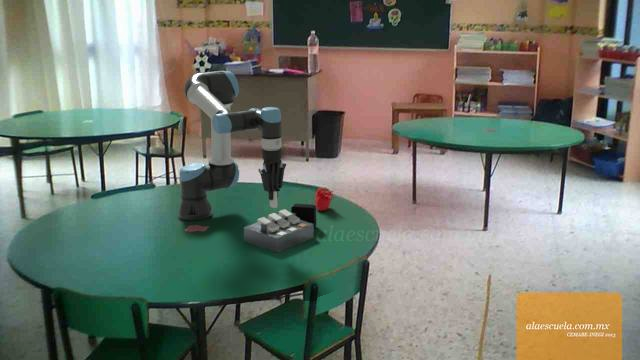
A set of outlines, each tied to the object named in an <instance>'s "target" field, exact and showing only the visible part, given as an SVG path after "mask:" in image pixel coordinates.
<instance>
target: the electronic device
mask: <svg viewBox="0 0 640 360" xmlns="http://www.w3.org/2000/svg"><path fill="white" fill-rule="evenodd" d="M290 210H291V212H290V213H295V214H296V216H297V217H298V218H300V220H302V221H306V222H309V223H312V224H314V230H315V228H316V227H317V208H316V205H315V204H307V203H294V204H292V205H291V208H290Z"/></svg>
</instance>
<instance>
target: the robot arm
mask: <svg viewBox="0 0 640 360" xmlns="http://www.w3.org/2000/svg"><path fill="white" fill-rule="evenodd" d="M239 92H240V87H239V83H238V79H237V78H236V75H235V74H234V73H233V72H232V71H230V70H217V71H205V72H196V73H194V74H193V75H191V76H190V77H188V78H187V80H186V81H185V83H184V88H183V93H184V95H185V98H186V99H187V100H188V102H190V103H191V104H192V105H197V107H198V108H199V109H200V110H202V111H203V113H205V115H207V117H209V118H210V128H211V129H210V133H211V134H210V135H211V136H210V137H211V140H210V142H211V157H210V158H209V159H208V160H207V161H208V165H206V164H205V163H203V162H194V163H189V164H186V165H184V166H182V167H181V168H180V169H179V176H178V179H179V187H180V203H179V208H178V211H177V212H178V213H177V216H178V218H179V219H180V220H184V221H201V220H205V219H208V218H210V217H212V215H213V208H212V206H211V203H210V201H209V198H208V192H211V191H216V190H223V189H229V188H232V187H235V186H236V185H237V184H238V182H239V178H240V169H239V165H238V163H237V162H236V161H235V159H234V158H233V157H232V150H231V149H232V148H231V146H232V145H231V144H232V142H231V140H232V138H231V135H232V134H231V133H238V132H246V131H255V130H260V133H261V148H262V150H261V158H262V159H263V163H262V167H261V168H258V173H259V175H260V177H261V182H262V187H263V191H265V192H268V200H269V207H270V208H273V209H277V208H278V198H279V192H280V191H281V189H282V188H283V182H284V175H285V169H286V166H287V163H284V162H283V161H282V158H283V150H282V114H281V109H280V108H278V107H277V106H276V107H274V106H267V107H263V108H257V107H256V108H255V107H254V108H253V107H252V108H250V109H248V110H244V111H243V110H241V111H234V112H233V111H232V110H231V106H232V105H233V104H234V101H235V100H234V99H235V98H236V97H238V96H239V94H240V93H239Z"/></svg>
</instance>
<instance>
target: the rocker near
mask: <svg viewBox="0 0 640 360" xmlns="http://www.w3.org/2000/svg"><path fill="white" fill-rule="evenodd" d="M256 223H259V224H260V225H261V224H262V223H263V224H266V227H267V229H268V230H270V231H271V232H275V231H277V230H279V226H278V225H277V224H275V223H273V222H271V221H270V220H268V218H266V217H265V216H262V217H259V218H257V222H256Z"/></svg>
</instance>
